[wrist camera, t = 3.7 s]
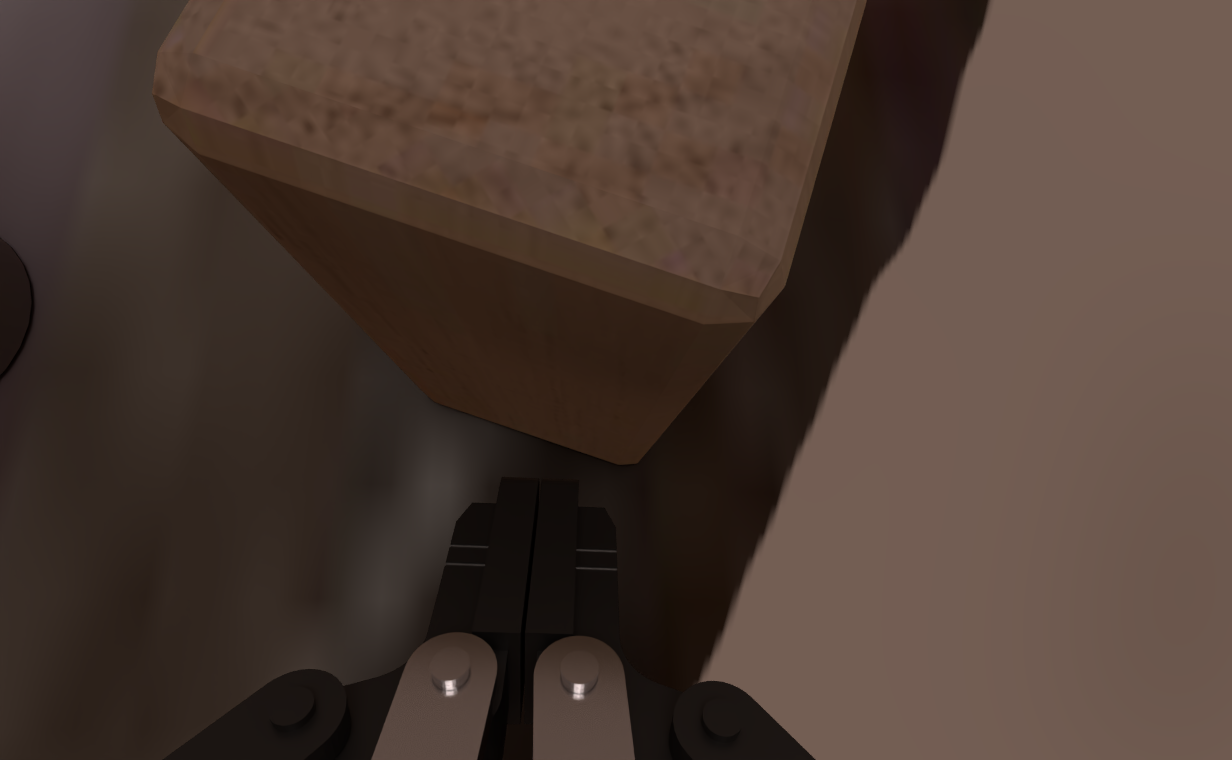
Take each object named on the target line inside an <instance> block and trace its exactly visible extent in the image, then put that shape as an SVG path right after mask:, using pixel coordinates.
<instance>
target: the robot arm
mask: <svg viewBox="0 0 1232 760" xmlns="http://www.w3.org/2000/svg"><path fill="white" fill-rule="evenodd" d="M31 303H32V302H31V292H30V283H29V280H28V277H27V274H26V272H25V269H24V266H23V264H22V262H21V261H20V259H19V258H18V256H17V255H16V254H15V252H14V251H13V249H12V248H11V247H10V246H9V245H8V244H7V243H5V242H4V241H3V240H2V239H1V238H0V375H1V374H2V373H3V371H4V370H5V369H6V368H7V367H8V365H9V364H10V362H11V361H12V359H13V357H14V356H15V354H16V353H17V351H18V349H19V348H20V346H21V343H22V341H23V338H24V335H25V333H26V330H27V327H28V325H29V318H30V310H31ZM578 487H579V480H564V479H542V483H541V492H540V501H539V479H536V478H513V477H502V478H501V482H500V487H499V492H498V498H497V503H496V504H492V503H472V504H471V505H470V506H469V507H468V508H467V510H466V511H465V512H464V513H463V514H462V515H461V517H460V518H459V519H458V520H457V521H456V525H455V529H454V533H453V536H452V540H451V547H450V548H449V552H448V556H447V560H446V566H445V567H444V571H443V575H442V579H441V583H440V587H439V591H438V595H437V599H436V602H435V606H434V610H433V614H432V618H431V622H430V626H429V630H428V633H427V636H426V639H425V641H424V643H423V644H422V645H421V646H420V647H418V648H417V649H416V651H415V652H414V653H413V654H412V655H411V657H410V658H409V660H408V661H407V662H406V663H405V664H404V665H402V666H401V667H399V668H397V669H396V670H394V671H392V672H390V673H387V674H385V675H382V676H379V677H376V678H372V679H368V680H365V681H361V682H357V683H354V684H350V685H346V686H343V685H342V683H341V682H340V681H339V680H338V679H337V678H336V677H335V676H333V675H332V674H330V673H328V672H326V671H322V670H316V669H305V670H298V671H293V672H290V673H287V674H284V675H282V676H280V677H278V678H276V679H274V680H273V681H271V682H269V683H268V684H266V685H265V686H264V687H262V688H261V689H259V690H258V691H257V692H255V693H254V694H253V695H251V696H250V697H248V698H247V699H246V700H244V701H243V702H242V703H240V704H239V705H237V706H236V707H235V708H233V709H232V710H230V711H229V712H228V713H226V714H225V715H224V716H222V717H221V718H219V719H218V720H217V721H215V722H214V723H213V724H211V725H210V726H208V727H207V728H206V729H204V730H203V731H201V732H200V733H199V734H197V735H196V736H195V737H193V738H192V739H190V740H189V741H188V742H186V743H185V744H184V745H182V746H181V747H179V748H178V749H177V750H175V751H174V752H172V753H171V754H170V755H168V756H167V757H166V758H164V759H163V760H502V758H503V752H504V744H505V736H506V727H507V724H520V723H521V713H522V704H523V694H524V684H525V715H524V724H533V751H532V760H815V759H814V758H813V757H812V756H811V755H810V754H809V753H808V752H807V751H806V750H805V749H804V748H803V747H802V746H801V745H800V744H799V743H798V742H797V741H796V740H795V739H794V738H793V737H792V736H791V735H790V734H789V733H788V732H787V731H786V730H784V729H783V728H782V727H781V726H780V725H779V724H778V723H777V722H776V721H775V720H774V719H773V718H772V717H771V716H770V715H769V714H768V713H767V712H766V711H765V710H764V709H763V708H762V707H761V706H760V705H759V704H758V703H757V702H756V701H754V700H753V699H752V697H750V696H749V695H748V694H747V693H746V692H744V691H743V690H741V689H739V688H738V687H735V686H733V685H731V684H728V683H725V682H719V681H706V682H700V683H698V684H695V685H693V686H691V687H690V688H688V689H687V690H686V691H685V692H681V691H678V690H675V689H672V688H669V687H666V686H663V685H660V684H658V683H655V682H653V681H651V680H649V679H647V678H645V677H644V676H642V675H641V674H640V673H639V672H637V671H636V670H635V669H634V668H633V667H632V666H631V665H630V663H629V662H628V660H627V659H626V657H625V655H624V653H623V651H622V648H621V645H620V637H619V608H618V578H617V553H616V527H615V525H614V523H613V522H612V520H611V518H610V517H609V515H608V513H607V511H606V510H605V508H596V507H578Z"/></svg>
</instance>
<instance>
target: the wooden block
mask: <svg viewBox="0 0 1232 760" xmlns="http://www.w3.org/2000/svg"><path fill="white" fill-rule="evenodd" d="M866 1H867V0H189V2H188V3H187V5H186V6H185V8H184V10H183V11H182V13H181V15H180V16H179V18H178V20H177V21H176V23H175V24H174V26H173V28H172V29H171V31H170V33H169V34H168V36H167V38H166V39H165V41H164V42H163V44H162V46H161V47H160V49H159V51H158V54H157V61H156V68H155V76H154V83H153V90H152V94H153V97H154V100H155V102H156V105H157V108H158V110H159V113H160V116H161V118H162V121H163V123H164V124H165V125H166V126H167V127H168V128H169V129H170V130H171V131H172V132H173V133H174V134H175V135H176V136H177V138H178V139H179V140H180V141H181V142H182V143H183V144H184V145H185V146H186V147H187V148H188V149H189V150H190V151H191V152H192V153H193V154H194V155H195V156H196V157H197V158H198V159H199V160H200V161H201V162H202V163H203V164H204V165H205V167H206V168H207V169H208V170H209V171H210V172H211V173H212V174H213V175H214V176H215V177H216V178H217V179H218V180H219V181H220V182H221V183H222V184H223V185H224V186H225V187H226V188H227V189H228V190H229V191H230V192H231V193H232V195H233V196H234V197H235V198H236V199H237V200H238V201H239V202H240V203H241V204H242V205H243V206H244V207H245V208H246V209H247V210H248V211H249V212H250V213H251V214H252V215H253V216H254V217H255V218H256V219H257V220H258V221H259V223H260V224H261V225H262V226H263V227H264V228H265V229H266V230H267V231H268V232H269V233H270V234H271V235H272V236H273V237H274V238H275V239H276V240H277V241H278V242H279V243H280V244H281V245H282V246H283V247H284V248H285V249H286V251H287V252H288V253H289V254H290V255H291V256H292V257H293V258H294V259H295V260H296V261H297V262H298V263H299V264H300V265H301V266H302V267H303V268H304V269H305V270H306V271H307V272H308V273H309V274H310V275H311V276H312V277H313V278H314V280H315V281H316V282H317V283H318V284H319V285H320V286H321V287H322V288H323V289H324V290H325V291H326V292H327V293H328V294H329V295H330V296H331V297H332V298H333V299H334V300H335V301H336V302H337V303H338V304H339V305H340V306H341V308H342V309H343V310H344V311H345V312H346V313H347V314H348V315H349V316H350V317H351V318H352V319H353V320H354V321H355V322H356V323H357V324H358V325H359V326H360V327H361V328H362V329H363V330H364V331H365V332H366V333H367V334H368V336H369V337H370V338H371V339H372V340H373V341H374V342H375V343H376V344H377V345H378V346H379V347H380V348H381V349H382V350H383V351H384V352H385V353H386V354H387V355H388V356H389V357H390V358H391V359H392V360H393V361H394V362H395V364H396V365H397V366H398V367H399V368H400V369H401V370H402V371H403V372H404V373H405V374H406V375H407V376H408V377H409V378H410V379H411V380H412V381H413V382H414V383H415V384H416V385H417V386H418V387H419V388H420V389H421V390H422V391H423V392H424V393H425V394H426V395H427V396H428V397H429V398H431V399H432V400H433V401H434V402H436V403H439V404H442V405H445V406H448V407H450V408H453V409H456V410H459V411H462V412H465V413H468V414H471V415H474V416H477V417H480V418H483V419H486V420H488V421H491V422H494V423H497V424H500V425H503V426H506V427H509V428H512V429H515V430H518V431H521V432H524V433H527V434H529V435H532V436H535V437H538V438H541V439H544V440H547V441H550V442H553V443H556V444H559V445H562V446H565V447H568V448H570V449H573V450H576V451H579V452H582V453H585V454H588V455H591V456H594V457H597V458H600V459H603V460H606V461H609V462H611V463H614V464H617V465H624V464H637V463H638V462H639V461H640V460H641V458H642V457H643V456H644V455H645V454H646V453H647V451H648V450H649V449H650V448H651V447H652V445H653V444H654V443H655V442H656V441H657V439H658V438H659V437H660V436H661V435H662V433H663V432H664V431H665V430H666V429H667V427H668V426H669V425H670V424H671V423H672V421H673V420H674V419H675V418H676V417H677V415H678V414H679V413H680V412H681V411H682V409H683V408H684V407H685V406H686V405H687V403H688V402H689V401H690V400H691V399H692V397H693V396H694V395H695V394H696V393H697V391H698V390H699V389H700V388H701V387H702V385H703V384H704V383H705V382H706V381H707V379H708V378H709V377H710V376H711V375H712V373H713V372H714V371H715V370H716V369H717V367H718V366H719V365H720V364H721V363H722V361H723V360H724V359H725V358H726V357H727V355H728V354H729V353H730V352H731V351H732V349H733V348H734V347H735V346H736V345H737V343H738V342H739V341H740V340H741V339H742V337H743V336H744V335H745V334H746V333H747V331H748V330H749V329H750V328H751V327H752V325H753V324H754V323H755V322H756V321H757V319H758V318H759V317H760V316H761V315H762V313H763V312H764V311H765V310H766V309H767V307H768V306H769V305H770V304H771V303H772V301H773V300H774V299H775V298H776V297H777V295H778V294H779V293H780V292H781V291H782V289H783V288H784V287H785V284H786V281H787V277H788V274H789V270H790V267H791V263H792V260H793V256H794V253H795V249H796V246H797V242H798V239H799V235H800V232H801V228H802V225H803V221H804V218H805V214H806V211H807V207H808V204H809V200H810V197H811V193H812V190H813V186H814V183H815V179H816V176H817V172H818V169H819V165H820V162H821V158H822V155H823V151H824V148H825V144H826V141H827V137H828V134H829V130H830V127H831V123H832V120H833V116H834V113H835V110H836V106H837V103H838V99H839V96H840V92H841V89H842V85H843V82H844V78H845V75H846V71H847V68H848V64H849V61H850V57H851V54H852V50H853V47H854V43H855V40H856V36H857V33H858V29H859V26H860V22H861V19H862V15H863V12H864V8H865V5H866Z"/></svg>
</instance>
